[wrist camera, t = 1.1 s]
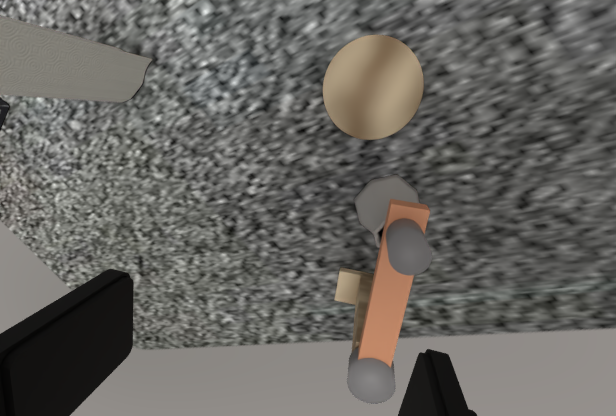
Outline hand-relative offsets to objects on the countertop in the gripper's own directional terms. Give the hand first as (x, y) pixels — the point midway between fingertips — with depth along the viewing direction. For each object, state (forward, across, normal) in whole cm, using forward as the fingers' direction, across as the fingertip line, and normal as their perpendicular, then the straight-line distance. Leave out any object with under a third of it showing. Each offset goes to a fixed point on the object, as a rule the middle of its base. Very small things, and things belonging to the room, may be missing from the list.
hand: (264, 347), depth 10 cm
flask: (+28, -6, +2) cm, 29 cm away
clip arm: (+15, -6, +6) cm, 17 cm away
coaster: (+28, -2, -10) cm, 30 cm away
